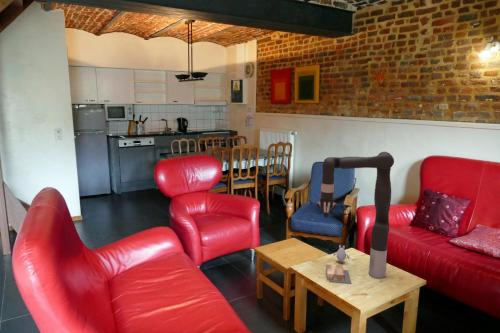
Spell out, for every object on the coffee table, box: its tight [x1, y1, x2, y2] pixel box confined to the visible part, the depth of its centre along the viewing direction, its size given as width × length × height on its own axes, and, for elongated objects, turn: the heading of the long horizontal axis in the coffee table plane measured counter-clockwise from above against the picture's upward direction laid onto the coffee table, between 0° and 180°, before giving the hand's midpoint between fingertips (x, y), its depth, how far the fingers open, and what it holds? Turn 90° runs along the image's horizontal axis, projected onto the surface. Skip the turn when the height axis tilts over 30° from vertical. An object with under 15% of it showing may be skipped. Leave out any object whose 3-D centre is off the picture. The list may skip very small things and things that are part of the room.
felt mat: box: [328, 269, 352, 285], centre depth 216 cm, size 13×16×1 cm
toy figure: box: [332, 244, 350, 264], centre depth 232 cm, size 11×6×12 cm, turn 65°
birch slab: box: [325, 264, 345, 281], centre depth 215 cm, size 4×12×10 cm
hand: (325, 217), depth 220 cm, fingers closed
